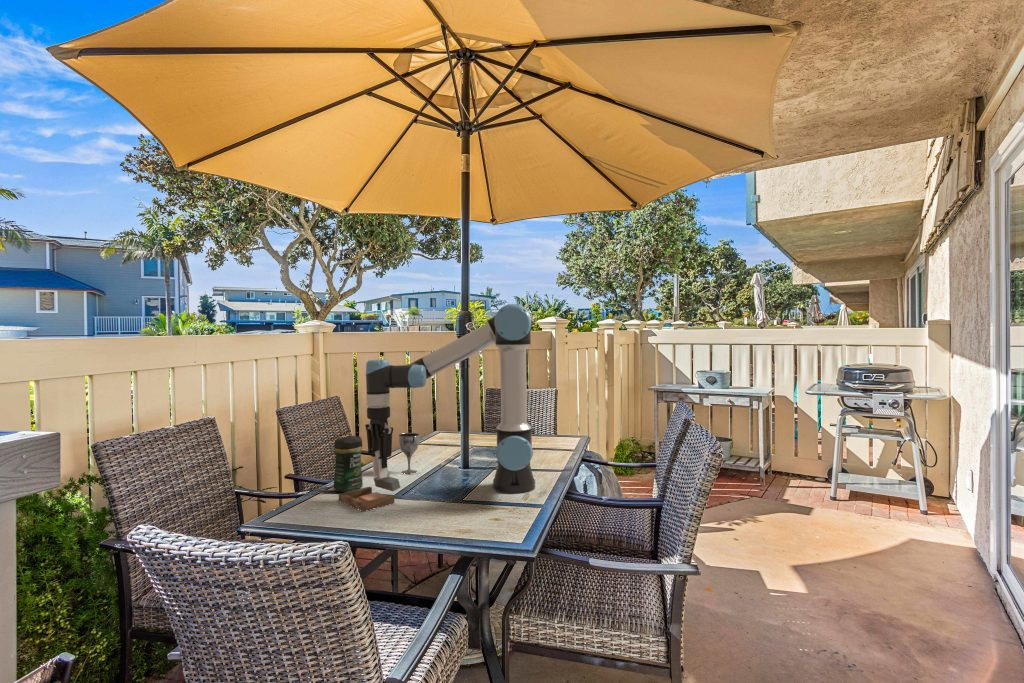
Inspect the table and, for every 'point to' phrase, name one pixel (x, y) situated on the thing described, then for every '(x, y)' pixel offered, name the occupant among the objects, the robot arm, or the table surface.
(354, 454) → the coffee jar
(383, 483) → the scraper
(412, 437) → the wine glass
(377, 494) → the tile
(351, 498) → the frame
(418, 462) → the table surface
